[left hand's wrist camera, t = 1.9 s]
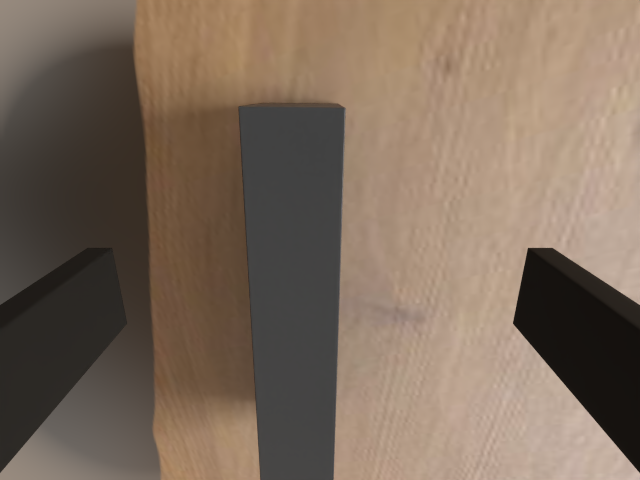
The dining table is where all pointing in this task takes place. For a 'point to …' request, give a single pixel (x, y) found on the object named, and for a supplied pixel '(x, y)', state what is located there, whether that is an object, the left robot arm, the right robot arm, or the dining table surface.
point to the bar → (294, 280)
